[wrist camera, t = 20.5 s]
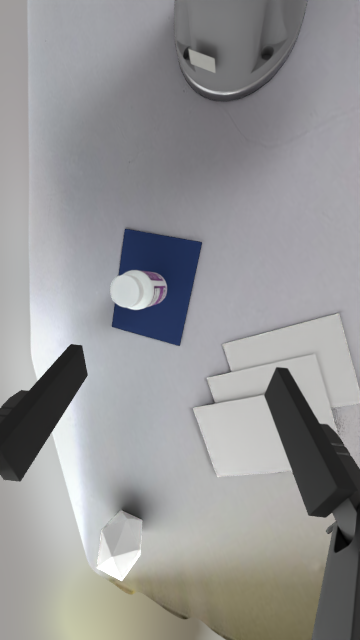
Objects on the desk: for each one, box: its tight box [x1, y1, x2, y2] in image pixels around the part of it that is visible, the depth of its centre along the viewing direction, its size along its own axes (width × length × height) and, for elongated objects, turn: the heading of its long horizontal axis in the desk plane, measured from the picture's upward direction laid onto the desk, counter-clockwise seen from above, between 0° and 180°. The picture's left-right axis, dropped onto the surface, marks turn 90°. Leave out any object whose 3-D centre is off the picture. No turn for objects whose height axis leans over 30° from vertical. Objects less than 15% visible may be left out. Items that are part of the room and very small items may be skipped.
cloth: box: [112, 229, 202, 346], centre depth 34 cm, size 17×13×1 cm
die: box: [97, 510, 142, 581], centre depth 41 cm, size 8×9×10 cm
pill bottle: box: [110, 270, 167, 310], centre depth 29 cm, size 5×5×10 cm
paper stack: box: [193, 313, 360, 477], centre depth 32 cm, size 23×25×1 cm
